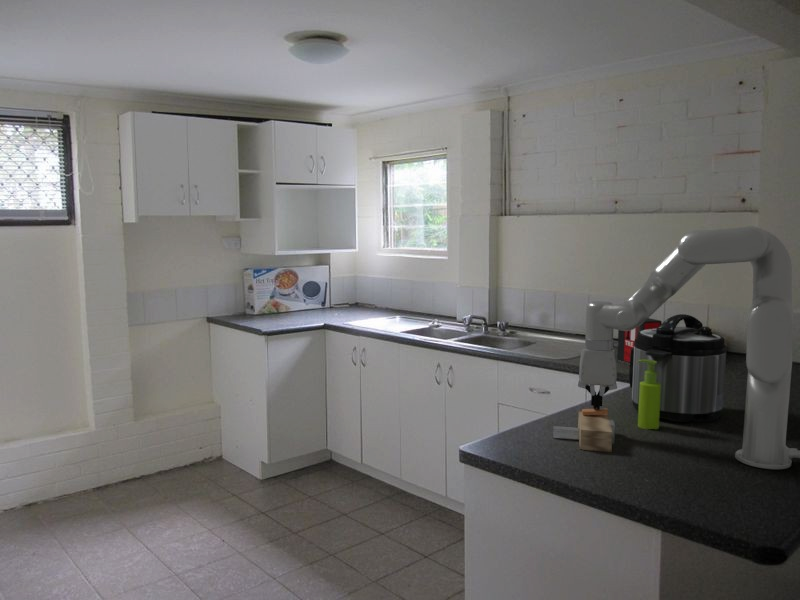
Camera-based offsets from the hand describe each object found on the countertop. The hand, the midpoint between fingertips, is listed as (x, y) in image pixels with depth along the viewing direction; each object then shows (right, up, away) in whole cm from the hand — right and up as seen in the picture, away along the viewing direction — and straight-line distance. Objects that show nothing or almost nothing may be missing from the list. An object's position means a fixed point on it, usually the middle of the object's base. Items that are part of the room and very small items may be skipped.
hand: (596, 408), depth 191 cm
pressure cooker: (+31, -5, +23) cm, 39 cm away
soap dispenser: (+17, -7, +8) cm, 20 cm away
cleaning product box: (+46, +3, +95) cm, 106 cm away
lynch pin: (-5, -8, -4) cm, 10 cm away
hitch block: (-2, -8, -5) cm, 10 cm away
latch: (0, -2, 0) cm, 2 cm away
